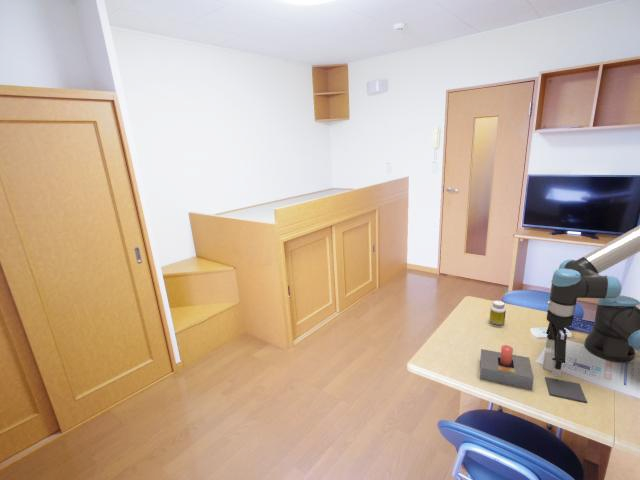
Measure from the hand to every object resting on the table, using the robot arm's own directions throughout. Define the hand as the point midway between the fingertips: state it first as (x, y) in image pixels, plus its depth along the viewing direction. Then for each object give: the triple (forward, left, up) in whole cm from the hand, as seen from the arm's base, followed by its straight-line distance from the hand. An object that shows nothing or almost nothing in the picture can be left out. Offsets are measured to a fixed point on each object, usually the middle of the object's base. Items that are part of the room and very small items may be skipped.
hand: (552, 364), depth 123 cm
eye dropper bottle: (0, 0, -2) cm, 2 cm away
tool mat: (-2, +11, -2) cm, 11 cm away
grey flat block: (+16, +9, -2) cm, 18 cm away
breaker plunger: (+16, +9, +3) cm, 19 cm away
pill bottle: (+17, -28, -2) cm, 33 cm away
